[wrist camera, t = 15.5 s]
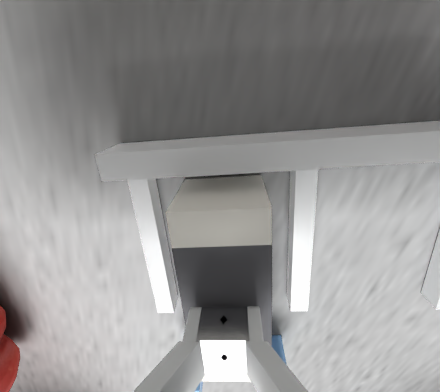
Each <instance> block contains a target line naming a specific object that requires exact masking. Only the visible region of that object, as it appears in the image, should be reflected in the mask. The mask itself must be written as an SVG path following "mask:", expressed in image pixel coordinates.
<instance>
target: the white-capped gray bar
mask: <svg viewBox="0 0 440 392" xmlns="http://www.w3.org/2000/svg"><path fill="white" fill-rule="evenodd" d="M165 214H166V219H167V225H168V230H169V236H170V241H171V247H172V252H173V258H174V264H175V269H176V275H177V280H178V286H179V291H180V297H181V302H182V308H183V314H184V319H185V325H186V322H187V318H188V313H189V310H190V308H191V307H251V306H259V308H260V315H261V323H262V332H263V340H264V341H267V342H268V343H269V344H270V345H271V347H272V206H271V203H270V200H269V197H268V194H267V191H266V188H265V185H264V182H263V179H262V176H261V175H253V176H236V177H219V178H201V179H185V180H184V182H183V184H182V185H181V187H180V189H179V190H178V192H177V194H176V196H175V197H174V199H173V201H172V202H171V204H170V206H169V207H168V209H167V211H166V212H165ZM202 381H215V382H251V381H250V379H249V377H248V376H247V374H241V373H205V376H204V377H203V379H202Z"/></svg>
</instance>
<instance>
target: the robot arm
mask: <svg viewBox="0 0 440 392" xmlns="http://www.w3.org/2000/svg"><path fill="white" fill-rule="evenodd" d="M205 373H241V374H247V376H248V377H249V379H250V381H251V383H252V384H253V386H254V388H255V390H256V392H308V391H307V390H306V389H305V387H304V386H303V385H302V384H301V382H300V381H299V380H298V379H297V378H296V376H295V375H294V374H293V373H292V371H291V370H290V369H289V368H288V366H287V365H286V364H285V363H284V361H283V360H282V359H281V358H280V356H279V355H278V354H277V353H276V352H275V350H274V349H273V348H272V347H271V345H270V344H269V343H268V342H267V341H264V340H263V332H262V323H261V315H260V308H259V306H251V307H191V308H190V310H189V313H188V318H187V322H186V327H185V332H184V336H183V341H179V342H178V343H177V344H176V345H175V346H174V347H173V349H172V350H171V351H170V352H169V353H168V354H167V355H166V356H165V357H164V358H163V360H162V361H161V362H160V363H159V364H158V365H157V366H156V367H155V368H154V369H153V371H152V372H151V373H150V374H149V375H148V376H147V377H146V378H145V379H144V380H143V381H142V383H141V384H140V385H139V386H138V387H137V388H136V389H135V390H134V392H195V390H196V389H197V387H198V385H199V384H200V382H201V381H202V379H203V377H204V376H205Z"/></svg>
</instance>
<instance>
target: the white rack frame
mask: <svg viewBox="0 0 440 392" xmlns="http://www.w3.org/2000/svg"><path fill="white" fill-rule="evenodd" d="M94 156H95V160H96V163H97V167H98V171H99V174H100V178H101V182H109V181H126V180H127V182H128V186H129V191H130V195H131V199H132V204H133V208H134V212H135V217H136V221H137V225H138V230H139V234H140V238H141V242H142V247H143V251H144V255H145V260H146V264H147V268H148V273H149V277H150V281H151V285H152V290H153V294H154V298H155V303H156V307H157V311H158V313H174V310H175V307H176V303H177V300H178V295H177V290H176V284H175V279H174V273H173V268H172V263H171V257H170V252H169V246H168V241H167V236H166V230H165V225H164V219H163V214H162V209H161V203H160V198H159V192H158V187H157V182H156V179H160V178H177V177H195V176H212V175H229V174H246V173H263V172H280V171H290V197H289V230H288V263H287V300H288V304H289V308H290V311H308V303H309V289H310V276H311V263H312V250H313V236H314V223H315V210H316V196H317V183H318V170H319V169H332V168H349V167H366V166H383V165H400V164H417V163H435V162H440V121H427V122H413V123H399V124H385V125H371V126H356V127H342V128H328V129H314V130H300V131H286V132H272V133H258V134H244V135H230V136H216V137H202V138H188V139H174V140H160V141H146V142H132V143H120V144H117V145H115V146H113V147H110V148H108V149H106V150H103V151H101V152H98V153H96V154H94ZM421 294H422V295H423V297H424V298H425V299H426V300H427V301H428V302H429V303H430V304H431V305H432V306H433V307H434V308H435V309H440V230H439V233H438V236H437V240H436V243H435V246H434V250H433V253H432V257H431V260H430V263H429V267H428V270H427V274H426V277H425V280H424V284H423V287H422V291H421Z"/></svg>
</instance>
